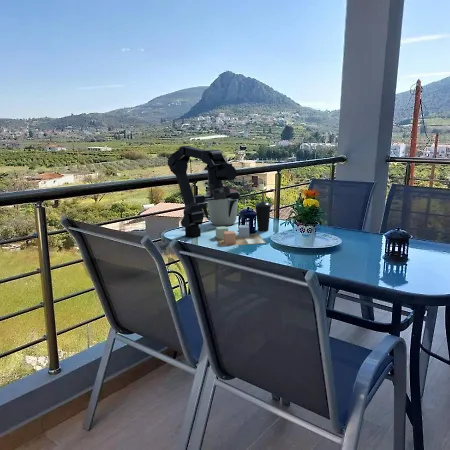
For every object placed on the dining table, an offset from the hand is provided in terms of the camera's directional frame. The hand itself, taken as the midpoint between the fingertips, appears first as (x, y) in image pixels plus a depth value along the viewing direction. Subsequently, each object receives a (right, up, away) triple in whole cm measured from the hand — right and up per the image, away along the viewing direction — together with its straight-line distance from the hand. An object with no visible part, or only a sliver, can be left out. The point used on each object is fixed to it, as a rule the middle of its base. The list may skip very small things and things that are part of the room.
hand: (218, 217), depth 170 cm
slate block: (+11, -8, +13) cm, 19 cm away
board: (+9, -11, +8) cm, 16 cm away
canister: (+2, -3, +45) cm, 45 cm away
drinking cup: (+21, -7, +23) cm, 32 cm away
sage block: (+1, -9, +12) cm, 15 cm away
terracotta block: (+5, -10, +3) cm, 12 cm away
